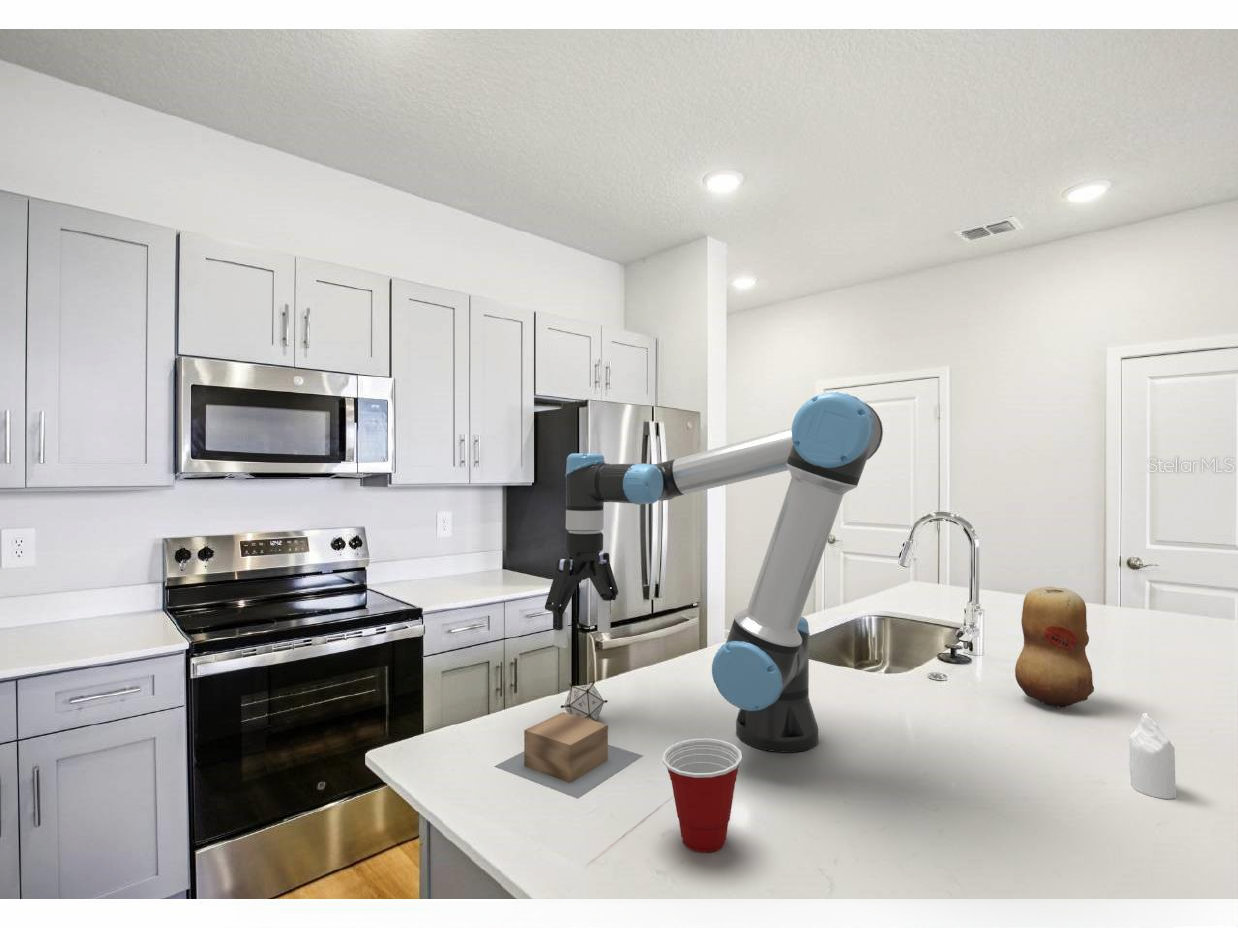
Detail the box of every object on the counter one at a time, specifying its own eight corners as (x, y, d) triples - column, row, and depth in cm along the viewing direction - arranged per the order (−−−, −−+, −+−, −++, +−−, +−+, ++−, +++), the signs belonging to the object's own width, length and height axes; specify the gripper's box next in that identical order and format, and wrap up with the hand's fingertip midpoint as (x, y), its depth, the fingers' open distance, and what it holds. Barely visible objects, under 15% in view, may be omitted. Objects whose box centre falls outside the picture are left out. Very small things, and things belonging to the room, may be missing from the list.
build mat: (643, 758, 113) (643, 755, 113) (577, 802, 98) (577, 798, 98) (564, 733, 123) (564, 730, 123) (494, 769, 109) (494, 766, 109)
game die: (590, 746, 127) (599, 716, 121) (551, 727, 128) (558, 697, 123) (607, 710, 134) (616, 680, 128) (570, 692, 135) (577, 662, 130)
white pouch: (1186, 721, 100) (1148, 721, 100) (1185, 799, 99) (1148, 799, 100) (1154, 707, 106) (1119, 706, 106) (1154, 780, 105) (1119, 780, 106)
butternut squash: (1021, 711, 136) (1021, 591, 136) (1010, 690, 148) (1010, 581, 148) (1102, 721, 130) (1102, 596, 130) (1083, 699, 143) (1083, 585, 143)
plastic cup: (656, 820, 93) (656, 736, 93) (730, 817, 94) (730, 734, 94) (668, 867, 82) (668, 772, 82) (752, 863, 83) (752, 769, 83)
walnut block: (607, 759, 111) (607, 724, 111) (570, 782, 103) (570, 744, 103) (563, 745, 117) (563, 711, 117) (524, 765, 109) (524, 730, 109)
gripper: (606, 525, 141) (605, 623, 141) (526, 535, 120) (525, 649, 120) (635, 527, 136) (634, 629, 136) (557, 538, 116) (555, 656, 116)
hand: (583, 638), depth 128 cm, fingers open, 13 cm apart
